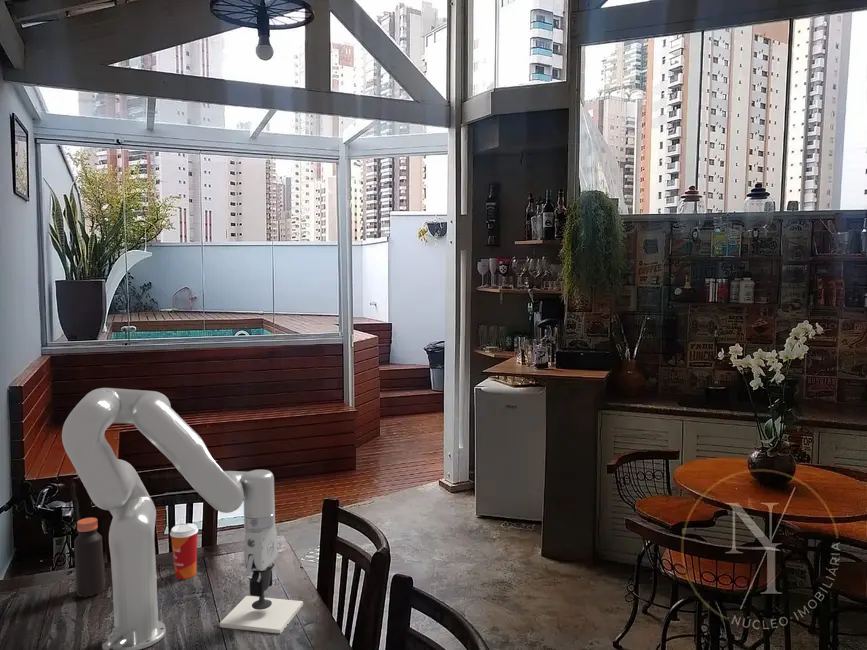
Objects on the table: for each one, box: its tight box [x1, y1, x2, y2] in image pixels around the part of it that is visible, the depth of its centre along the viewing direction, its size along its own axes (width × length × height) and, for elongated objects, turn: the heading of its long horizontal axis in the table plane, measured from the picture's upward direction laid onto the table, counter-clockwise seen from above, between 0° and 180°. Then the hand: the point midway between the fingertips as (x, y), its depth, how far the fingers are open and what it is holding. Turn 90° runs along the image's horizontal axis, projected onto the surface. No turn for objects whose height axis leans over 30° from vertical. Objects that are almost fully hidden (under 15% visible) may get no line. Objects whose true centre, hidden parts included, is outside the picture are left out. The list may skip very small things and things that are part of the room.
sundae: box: [252, 562, 275, 610], centre depth 168 cm, size 7×7×15 cm
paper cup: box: [169, 523, 199, 580], centre depth 191 cm, size 8×8×14 cm
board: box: [219, 595, 304, 634], centre depth 168 cm, size 14×16×1 cm
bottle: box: [73, 517, 105, 597], centre depth 181 cm, size 7×7×20 cm
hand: (261, 589), depth 168 cm, fingers closed on sundae, 4 cm apart
